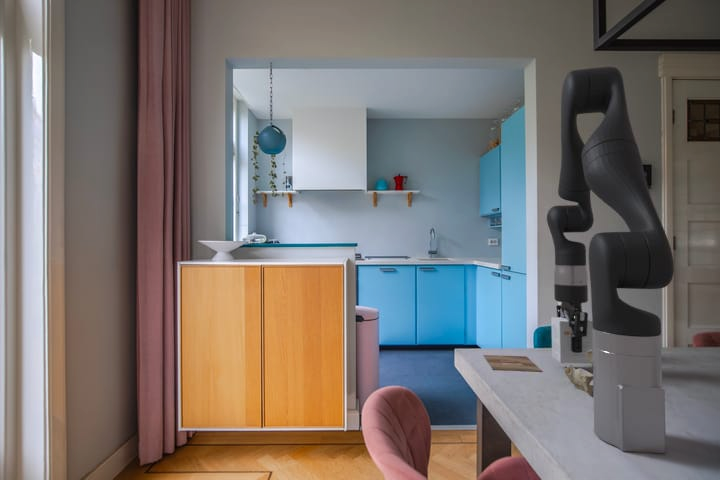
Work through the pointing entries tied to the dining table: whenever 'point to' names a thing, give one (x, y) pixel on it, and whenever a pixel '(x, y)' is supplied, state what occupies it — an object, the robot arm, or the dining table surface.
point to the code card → (511, 363)
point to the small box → (569, 342)
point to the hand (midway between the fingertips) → (571, 348)
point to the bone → (581, 375)
